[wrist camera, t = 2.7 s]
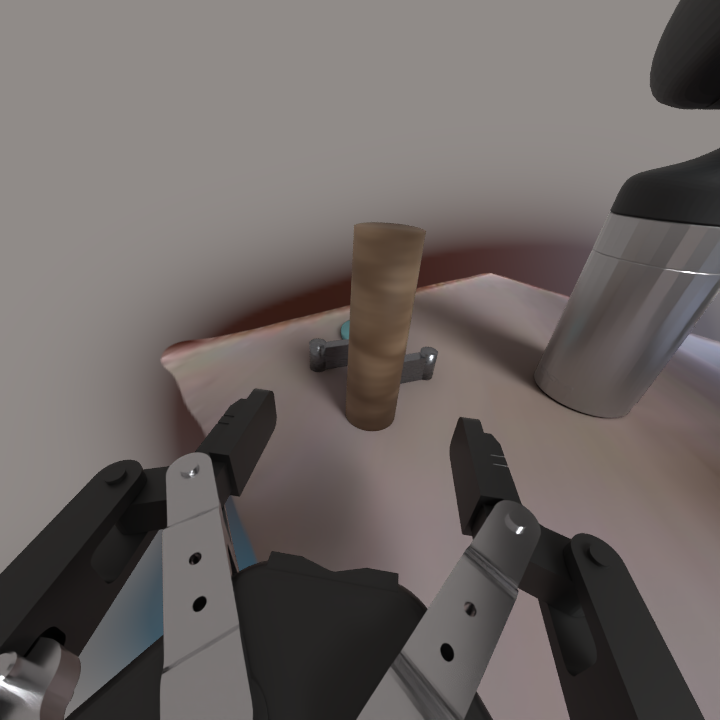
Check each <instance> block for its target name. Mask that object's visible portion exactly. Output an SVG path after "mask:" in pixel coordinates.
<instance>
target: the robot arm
mask: <svg viewBox="0 0 720 720" xmlns="http://www.w3.org/2000/svg"><path fill="white" fill-rule="evenodd" d="M650 87H651V91H652V94H653V96H654V97H655V98H656V100H657V101H658V102H660V103H662V104H665V105H668V106H671V107H675V108H679V109H720V0H680V2H679V4H678V5H677V7H676V9H675V11H674V13H673V14H672V16H671V18H670V20H669V22H668V24H667V26H666V28H665V30H664V32H663V34H662V37H661V39H660V41H659V44H658V47H657V49H656V52H655V55H654V58H653V62H652V67H651V72H650ZM719 292H720V148H719V149H717V150H714V151H712V152H710V153H708V154H705V155H703V156H700V157H698V158H695V159H692V160H689V161H686V162H682V163H679V164H675V165H670V166H666V167H662V168H657V169H653V170H649V171H645V172H641V173H638V174H636V175H634V176H632V177H630V178H629V179H628V180H627V181H626V182H625V183H624V185H623V186H622V188H621V189H620V191H619V193H618V195H617V197H616V200H615V202H614V204H613V206H612V208H611V212H610V213H609V215H608V217H607V219H606V221H605V223H604V225H603V227H602V230H601V232H600V234H599V236H598V238H597V240H596V243H595V245H594V247H593V249H592V252H591V253H590V256H589V258H588V260H587V262H586V264H585V266H584V268H583V271H582V273H581V275H580V277H579V279H578V281H577V283H576V286H575V288H574V290H573V292H572V294H571V296H570V298H569V300H568V303H567V305H566V307H565V309H564V311H563V313H562V315H561V317H560V320H559V322H558V324H557V326H556V328H555V330H554V332H553V335H552V337H551V339H550V341H549V343H548V345H547V347H546V349H545V351H544V354H543V356H542V358H541V360H540V362H539V364H538V366H537V368H536V371H535V373H534V378H535V382H536V383H537V384H538V386H539V387H540V388H541V389H542V390H543V391H544V392H545V393H546V394H547V395H549V396H550V397H551V398H553V399H555V400H556V401H558V402H560V403H561V404H563V405H565V406H567V407H570V408H572V409H574V410H577V411H580V412H582V413H586V414H589V415H593V416H598V417H604V418H617V417H623V416H625V415H627V414H628V413H629V412H630V410H631V409H632V408H633V406H634V405H635V404H636V403H638V402H639V400H640V399H641V398H642V396H643V395H644V394H645V392H646V391H647V390H648V388H649V387H650V386H651V384H652V383H653V382H654V380H655V379H656V378H657V376H658V375H659V374H660V372H661V371H662V370H663V368H664V367H665V366H666V364H667V363H668V362H669V360H670V359H671V358H672V356H673V355H674V354H675V352H676V351H677V350H678V348H679V347H680V346H681V344H682V343H683V342H684V340H685V339H686V338H687V336H688V335H689V334H690V332H691V331H692V330H693V328H694V327H695V325H696V322H697V321H698V320H699V319H700V317H701V316H702V315H703V313H704V312H705V311H706V309H707V308H708V306H709V305H710V304H711V303H712V301H713V300H714V299H715V297H716V296H717V295H718V293H719ZM276 418H277V417H276V408H275V399H274V393H273V391H270V390H263V389H254V390H253V391H252V392H251V394H250V395H249V397H248V398H247V399H240V400H238V401H237V402H235V403H234V404H232V405H231V406H230V407H229V408H228V410H227V411H226V412H225V414H224V416H222V417H221V419H220V420H219V421H218V424H216V425H215V427H214V428H213V429H212V431H211V432H210V433H209V434H208V436H207V437H206V438H205V440H204V441H203V442H202V444H201V445H200V446H199V448H198V449H197V450H196V451H195V452H194V453H190V454H187V455H184V456H182V457H180V458H179V459H177V460H176V461H174V462H173V464H171V466H168V467H161V468H152V469H144V470H143V468H142V466H141V465H140V463H139V462H137V461H135V460H123V461H119V462H116V463H113V464H111V465H109V466H107V467H105V468H104V469H102V470H101V471H100V472H98V474H96V475H95V476H94V477H93V479H91V480H90V482H89V483H88V484H87V485H86V486H85V487H84V488H83V489H82V490H81V491H80V492H79V493H78V494H77V495H76V496H75V497H74V498H73V499H72V500H71V501H70V502H69V504H67V505H66V506H65V507H64V509H63V510H62V511H61V512H60V513H59V514H58V515H57V516H56V517H55V518H54V519H53V520H52V521H51V522H50V523H49V524H48V525H47V526H46V527H45V528H44V530H42V531H41V532H40V533H39V535H38V536H37V537H36V538H35V539H34V540H33V541H32V542H31V543H30V544H29V545H28V546H27V547H26V548H25V549H24V550H23V551H22V552H21V553H20V554H19V555H18V556H17V557H16V558H15V559H14V560H13V561H12V562H11V564H10V565H9V566H8V567H7V568H6V569H5V570H4V571H3V572H2V573H1V574H0V720H64V714H65V710H66V707H67V705H68V704H69V702H70V701H71V699H72V696H73V694H74V689H75V687H76V685H77V682H78V680H79V676H80V671H81V663H80V660H79V658H78V656H79V655H80V653H81V652H82V650H83V648H84V647H85V645H86V644H87V642H88V641H89V639H90V637H91V636H92V634H93V633H94V631H95V630H96V628H97V626H98V625H99V623H100V622H101V620H102V618H103V617H104V615H105V614H106V612H107V611H108V609H109V608H110V606H111V604H112V603H113V601H114V600H115V598H116V596H117V595H118V593H119V592H120V590H121V589H122V587H123V585H124V584H125V582H126V581H127V579H128V578H129V576H130V575H131V573H132V571H133V570H134V568H135V567H136V565H137V563H138V562H139V560H140V559H141V557H142V555H143V554H144V552H145V551H146V549H147V548H148V546H149V545H150V543H151V541H152V540H153V538H154V537H155V535H156V534H157V532H158V530H160V529H163V533H162V561H163V563H162V564H163V623H164V624H163V625H164V635H163V636H161V637H160V638H159V639H158V640H157V641H155V642H154V643H153V644H152V645H151V646H150V647H148V648H147V649H146V650H145V651H144V652H143V653H141V654H140V655H139V656H138V657H137V658H135V659H134V660H133V661H132V662H131V663H130V664H128V665H127V666H126V667H125V668H124V669H123V670H121V671H120V672H119V673H118V674H117V675H116V676H114V677H113V678H112V679H111V680H110V681H108V682H107V683H106V684H105V685H104V686H103V687H101V688H100V689H99V690H98V691H97V692H96V693H94V694H93V695H92V696H91V697H90V698H88V699H87V700H86V701H85V702H84V703H83V704H81V705H80V706H79V707H78V708H77V709H76V710H74V711H73V712H72V713H71V714H70V715H69V716H68V717H67V718H66V719H65V720H493V719H492V717H491V715H490V714H489V712H488V710H487V709H486V707H485V705H484V703H483V702H482V700H481V698H480V696H479V695H478V693H477V688H478V686H479V684H480V681H481V679H482V677H483V674H484V672H485V670H486V667H487V665H488V663H489V661H490V658H491V656H492V654H493V651H494V649H495V647H496V644H497V642H498V640H499V638H500V635H501V633H502V631H503V628H504V626H505V624H506V621H507V619H508V617H509V614H510V612H511V610H512V608H513V605H514V603H515V601H516V598H517V595H518V590H517V588H519V589H521V590H523V591H525V592H527V593H529V594H530V595H532V596H534V597H536V598H538V601H539V605H540V608H541V612H542V616H543V620H544V623H545V627H546V631H547V635H548V638H549V642H550V646H551V650H552V653H553V657H554V661H555V665H556V668H557V672H558V676H559V680H560V683H561V687H562V691H563V695H564V698H565V702H566V706H567V710H568V713H569V717H570V720H705V719H704V717H703V715H702V713H701V711H700V709H699V707H698V705H697V703H696V701H695V699H694V697H693V696H692V694H691V692H690V690H689V688H688V686H687V684H686V682H685V680H684V678H683V676H682V674H681V672H680V670H679V668H678V666H677V665H676V663H675V661H674V659H673V657H672V655H671V653H670V651H669V649H668V647H667V645H666V643H665V641H664V639H663V637H662V635H661V634H660V632H659V630H658V628H657V626H656V624H655V622H654V620H653V618H652V616H651V614H650V612H649V610H648V608H647V606H646V604H645V603H644V601H643V599H642V597H641V595H640V593H639V591H638V589H637V587H636V585H635V583H634V581H633V579H632V577H631V575H630V573H629V572H628V570H627V568H626V566H625V564H624V562H623V560H622V559H621V557H620V556H619V555H618V554H617V553H616V551H615V550H614V549H613V548H612V547H610V546H609V545H608V544H607V543H605V542H604V541H602V540H601V539H599V538H597V537H595V536H593V535H589V534H584V533H580V534H576V535H575V536H574V537H573V538H572V539H569V538H567V537H565V536H563V535H560V534H558V533H556V532H554V531H552V530H549V529H547V528H545V527H543V526H542V525H540V524H539V523H538V521H537V519H536V518H535V516H534V515H533V514H532V513H531V512H530V511H529V510H528V509H527V508H526V507H524V506H523V505H522V504H521V501H520V498H519V496H518V493H517V490H516V487H515V484H514V482H513V479H512V476H511V473H510V470H509V468H508V467H507V462H506V459H505V458H504V454H503V451H502V448H501V445H500V444H499V442H498V441H497V440H496V439H495V438H494V436H493V435H492V434H488V433H484V432H483V429H482V425H481V422H480V420H478V419H471V418H464V417H460V418H459V419H458V422H457V425H456V428H455V431H454V434H453V437H452V440H451V444H450V461H451V467H452V474H453V480H454V486H455V492H456V498H457V505H458V511H459V517H460V523H461V529H462V534H463V535H469V536H472V537H473V541H472V543H471V544H470V546H469V547H468V548H467V549H466V551H465V552H464V554H463V555H462V557H461V558H460V560H459V561H458V563H457V564H456V566H455V568H454V569H453V571H452V572H451V574H450V575H449V577H448V579H447V580H446V582H445V583H444V585H443V586H442V588H441V589H440V591H439V593H438V594H437V596H436V597H435V599H434V600H433V602H432V604H431V605H430V607H429V608H428V609H427V608H426V606H425V605H424V604H423V603H422V602H421V601H420V599H419V598H418V597H416V596H415V595H414V594H413V593H412V592H411V591H409V590H408V589H406V588H405V587H403V586H401V585H399V584H398V573H392V572H387V571H381V570H375V569H370V568H362V569H353V570H345V571H337V572H333V571H329V570H327V569H325V568H323V567H321V566H320V565H318V564H316V563H314V562H312V561H310V560H308V559H306V558H304V557H302V556H297V555H291V554H285V553H280V552H274V551H272V552H271V555H270V557H269V560H268V561H264V562H260V563H257V564H254V565H251V566H249V567H247V568H245V569H243V570H241V571H239V568H238V564H237V560H236V556H235V552H234V547H233V542H232V537H231V532H230V528H229V522H228V517H227V512H226V507H225V502H226V501H227V499H228V497H229V495H233V496H239V497H240V495H241V493H242V491H243V489H244V487H245V485H246V483H247V481H248V479H249V477H250V476H251V474H252V472H253V470H254V468H255V466H256V464H257V462H258V460H259V458H260V456H261V454H262V452H263V450H264V449H265V447H266V445H267V443H268V441H269V439H270V437H271V435H272V433H273V431H274V429H275V425H276Z"/></svg>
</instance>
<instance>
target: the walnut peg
mask: <svg viewBox="0 0 720 720" xmlns="http://www.w3.org/2000/svg"><path fill="white" fill-rule="evenodd" d="M425 234H426V231H425V230H423V229H421V228H418V227H414V226H409V225H402V224H394V223H375V222H372V223H360V224H356V225H354V241H353V262H352V284H351V305H350V326H349V348H348V369H347V390H346V412H345V413H346V417H347V419H348V421H349V422H350V423H351V424H352V425H353V426H355V427H357V428H359V429H362V430H366V431H379V430H382V429H385V428H387V427H388V426H390V425H391V424H392V422H393V420H394V417H395V411H396V405H397V399H398V393H399V387H400V381H401V375H402V369H403V364H404V358H405V352H406V346H407V340H408V334H409V328H410V322H411V316H412V310H413V305H414V299H415V293H416V287H417V281H418V275H419V269H420V263H421V257H422V251H423V246H424V240H425Z"/></svg>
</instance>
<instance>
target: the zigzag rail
mask: <svg viewBox="0 0 720 720" xmlns="http://www.w3.org/2000/svg"><path fill="white" fill-rule="evenodd" d="M309 345H310V369H311V370H312V371H315V372H321V371H324V370H325V369H330V368H336V367H342V366H348V348H349V339H344V340H337V341H330V342H326V341H325V340H323V339H313V340H311V341H310V342H309ZM437 354H438V351H437V350H436V349H434V348H431V347H423V348H421V352H420V353H414V354H408V355H405V358H404V364H403V369H402V375H401V381H400V384H401V383H406V382H411V381H416V380H421V379H422V380H429V379H431V378H432V375H433V371H434V366H435V362H436V358H437Z"/></svg>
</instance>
